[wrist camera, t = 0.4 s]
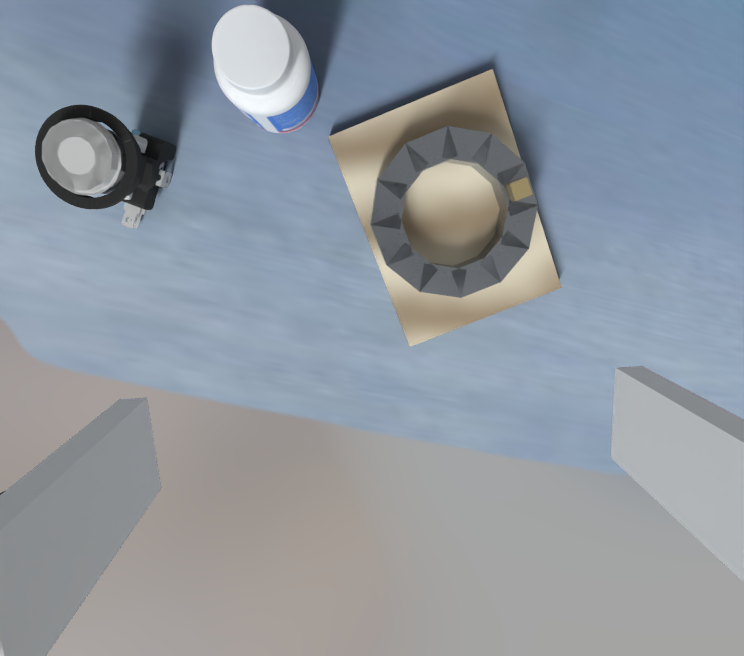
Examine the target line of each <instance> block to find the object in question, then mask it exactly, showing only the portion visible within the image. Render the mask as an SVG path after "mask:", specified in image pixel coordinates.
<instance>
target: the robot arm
mask: <svg viewBox="0 0 744 656" xmlns="http://www.w3.org/2000/svg"><path fill="white" fill-rule="evenodd" d="M611 458H612V459H613V460H614V461H615V462H616V463H617V464H618V465H619V466H621V467H622V468H623V469H624V470H625V471H626V472H627V473H628V474H629V475H630V476H631V477H632V478H633V479H634V480H636V481H637V482H638V483H639V484H640V485H641V486H642V487H643V488H644V489H645V490H646V491H647V492H648V493H650V495H651V496H652V497H654V498H655V499H656V500H657V501H658V502H659V503H660V504H661V505H662V506H663V507H664V508H665V509H666V510H667V511H668V512H669V513H671V514H672V515H673V516H674V517H675V518H676V519H677V520H678V521H679V522H680V523H681V524H682V525H683V526H684V527H686V528H687V529H688V530H689V531H690V532H691V533H692V534H693V535H694V536H695V537H696V538H697V539H698V540H699V541H701V543H702V544H704V545H705V546H706V547H707V548H708V549H709V550H710V551H711V552H712V553H713V554H714V555H715V556H716V557H717V558H718V559H720V560H721V561H722V562H723V563H724V564H725V565H726V566H727V567H728V568H729V569H730V570H731V571H732V572H733V573H734V574H735V575H737V576H738V577H739V578H740V579H741V580H742V581H743V582H744V419H742V418H740V417H738V416H736V415H734V414H732V413H730V412H729V411H727V410H725V409H723V408H721V407H719V406H717V405H715V404H713V403H711V402H710V401H708V400H706V399H704V398H702V397H700V396H698V395H696V394H694V393H692V392H690V391H689V390H687V389H685V388H683V387H681V386H679V385H677V384H675V383H673V382H671V381H670V380H668V379H666V378H664V377H662V376H660V375H658V374H656V373H654V372H652V371H650V370H649V369H647V368H645V367H643V366H636V367H620V368H615V388H614V407H613V426H612V446H611ZM160 489H161V483H160V477H159V470H158V464H157V458H156V451H155V445H154V438H153V432H152V426H151V419H150V413H149V406H148V400H147V398H135V399H120V400H118V401H117V402H115V403H114V404H113V405H112V406H110V407H109V408H108V409H107V410H105V411H104V412H103V413H102V414H101V415H99V416H98V417H97V418H96V419H94V420H93V421H92V422H91V423H89V424H88V425H87V426H86V427H84V428H83V429H82V430H81V431H79V432H78V433H77V434H76V435H74V436H73V437H72V438H71V439H69V440H68V441H67V442H66V443H64V444H63V445H62V446H61V447H59V448H58V449H57V450H56V451H55V452H54V453H52V454H51V455H50V456H48V457H47V458H46V459H45V460H43V461H42V462H41V463H40V464H38V465H37V466H36V467H35V468H33V469H32V470H31V471H30V472H28V473H27V474H26V475H25V476H23V477H22V478H21V479H20V480H19V481H17V482H16V483H15V484H14V485H12V486H11V487H10V488H9V489H7V490H6V491H4V492H2V493H0V656H46V655H47V654H48V652H49V651H50V649H51V648H52V646H53V645H54V644H55V642H56V640H57V639H58V638H59V636H60V635H61V633H62V632H63V631H64V629H65V628H66V626H67V625H68V623H69V622H70V620H71V619H72V617H73V616H74V615H75V613H76V612H77V610H78V609H79V607H80V606H81V604H82V603H83V601H84V600H85V599H86V597H87V596H88V594H89V593H90V591H91V590H92V588H93V587H94V585H95V584H96V583H97V581H98V580H99V578H100V577H101V575H102V574H103V572H104V571H105V569H106V568H107V566H108V565H109V564H110V562H111V561H112V559H113V558H114V556H115V555H116V553H117V552H118V551H119V549H120V548H121V546H122V545H123V543H124V542H125V540H126V539H127V537H128V536H129V534H130V533H131V532H132V530H133V529H134V527H135V526H136V524H137V523H138V521H139V520H140V519H141V517H142V516H143V514H144V513H145V511H146V510H147V508H148V507H149V506H150V504H151V502H152V501H153V500H154V498H155V497H156V495H157V494H158V492H159V491H160Z"/></svg>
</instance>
